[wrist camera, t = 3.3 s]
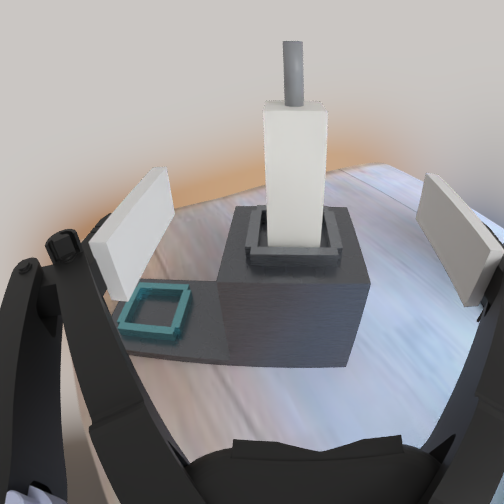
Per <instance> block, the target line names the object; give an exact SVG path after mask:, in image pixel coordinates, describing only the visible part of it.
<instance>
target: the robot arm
mask: <svg viewBox="0 0 504 504" xmlns="http://www.w3.org/2000/svg"><path fill="white" fill-rule="evenodd" d="M174 215H175V212H174V207H173V201H172V195H171V189H170V183H169V178H168V171H167V167H155V168H153V169H151V170H150V171H149V172H148V173H147V175H146V176H145V177H144V178H143V179H142V180H141V181H140V182H139V183H138V184H137V185H136V186H135V188H134V189H133V190H132V191H131V192H130V193H129V194H128V195H127V197H126V198H125V199H124V200H123V201H122V202H121V203H120V205H119V206H118V207H117V208H116V209H115V210H114V212H113V213H110V214H108V215H106V216H105V217H104V218H102V219H101V220H100V221H99V222H98V223H97V224H96V226H95V228H93V229H92V231H91V233H89V234H88V235H87V237H86V238H85V239H84V240H83V241H82V243H80V240H79V237H78V235H77V232H76V231H75V230H73V229H65V230H62V231H59V232H57V233H56V234H54V235H52V236H51V237H50V238H49V239H48V240H47V242H46V244H45V247H46V249H47V252H48V254H49V256H50V259H51V261H52V263H53V265H49V266H45V267H41V265H40V263H39V261H38V260H37V258H28V259H26V260H22V261H21V262H20V263H18V265H17V266H16V267H15V268H14V270H13V272H12V274H11V277H10V280H9V283H8V286H7V289H6V292H5V295H4V298H3V301H2V305H1V308H0V504H68V503H67V478H66V468H65V459H64V450H63V439H62V426H61V403H60V365H61V341H62V326H63V324H64V328H65V332H66V337H67V341H68V345H69V349H70V353H71V357H72V360H73V364H74V368H75V371H76V374H77V378H78V381H79V384H80V387H81V391H82V394H83V397H84V400H85V403H86V405H87V408H88V411H89V414H90V417H91V420H92V425H91V426H89V433H90V437H91V440H92V442H93V445H94V447H95V450H96V452H97V455H98V457H99V459H100V462H101V464H102V466H103V468H104V471H105V473H106V475H107V477H108V479H109V481H110V483H111V486H112V488H113V490H114V492H115V494H116V495H117V497H118V499H119V501H120V503H121V504H490V502H491V500H492V498H493V496H494V494H495V491H496V489H497V487H498V485H499V482H500V480H501V478H502V475H503V473H504V243H503V244H502V243H501V242H500V241H499V239H498V238H497V237H496V235H494V233H493V232H492V230H491V229H490V228H489V227H488V226H487V225H485V224H484V223H483V222H482V221H481V220H480V219H479V218H478V217H477V216H476V214H475V213H474V212H473V211H472V210H471V209H470V208H469V206H468V205H467V204H466V203H465V202H464V201H463V200H462V199H461V198H460V197H459V195H458V194H457V193H456V192H455V191H454V190H453V189H452V188H451V187H450V186H449V185H448V184H447V183H446V182H445V181H444V180H443V179H442V178H441V177H440V176H439V175H438V174H431V173H426V175H425V179H424V184H423V189H422V194H421V198H420V203H419V207H418V211H417V215H416V221H417V222H418V224H419V225H420V227H421V229H422V230H423V232H424V233H425V235H426V237H427V238H428V240H429V242H430V243H431V245H432V247H433V249H434V250H435V252H436V254H437V256H438V257H439V259H440V261H441V263H442V265H443V266H444V268H445V270H446V272H447V274H448V276H449V277H450V279H451V281H452V283H453V285H454V287H455V289H456V291H457V293H458V295H459V297H460V299H461V301H462V303H463V305H464V307H470V306H478V305H479V303H480V301H481V302H482V304H483V306H484V309H483V311H482V313H481V314H480V316H479V318H478V319H477V322H479V321H480V323H479V326H478V329H477V332H476V335H475V338H474V341H473V344H472V346H471V349H470V352H469V354H468V357H467V360H466V362H465V365H464V367H463V370H462V372H461V374H460V377H459V379H458V381H457V384H456V386H455V388H454V390H453V392H452V395H451V397H450V399H449V401H448V403H447V405H446V407H445V409H444V411H443V413H442V415H441V417H440V419H439V421H438V423H437V425H436V427H435V428H434V430H433V432H432V434H431V436H430V437H429V439H428V440H427V441H426V443H425V444H424V445H423V446H422V447H421V449H418V448H416V447H413V446H409V445H404V444H402V438H401V435H396V436H388V437H380V438H371V439H362V440H359V441H356V442H353V443H350V444H347V445H344V446H341V447H337V448H334V449H330V450H327V451H322V452H318V451H313V450H308V449H304V448H299V447H295V446H291V445H287V444H283V443H279V442H270V441H251V440H237V439H233V447H232V448H229V449H223V450H219V451H215V452H212V453H210V454H207V455H204V456H202V457H200V458H198V459H196V460H195V461H193V462H192V463H190V462H189V461H188V459H187V458H186V456H185V455H184V454H183V452H182V451H181V449H180V448H179V446H178V445H177V443H176V442H175V440H174V439H173V437H172V436H171V434H170V432H169V431H168V429H167V427H166V426H165V424H164V422H163V420H162V419H161V417H160V415H159V413H158V412H157V410H156V408H155V406H154V405H153V403H152V401H151V399H150V397H149V395H148V393H147V392H146V390H145V388H144V386H143V384H142V382H141V380H140V378H139V376H138V374H137V372H136V370H135V368H134V366H133V364H132V362H131V360H130V358H129V355H128V353H127V351H126V349H125V347H124V345H123V342H122V340H121V338H120V336H119V333H118V331H117V329H116V326H115V324H114V322H113V319H112V317H111V314H110V312H109V310H108V307H107V304H106V302H105V300H104V298H103V295H104V293H105V292H106V290H108V292H109V295H110V297H111V299H112V300H116V301H126V302H128V301H129V299H130V297H131V295H132V293H133V291H134V289H135V287H136V285H137V283H138V281H139V279H140V277H141V276H142V274H143V272H144V270H145V268H146V266H147V264H148V262H149V260H150V258H151V256H152V255H153V253H154V251H155V249H156V247H157V245H158V243H159V242H160V240H161V238H162V236H163V234H164V233H165V231H166V229H167V227H168V225H169V224H170V222H171V220H172V218H173V217H174Z"/></svg>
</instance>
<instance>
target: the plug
mask: <svg viewBox="0 0 504 504" xmlns="http://www.w3.org/2000/svg"><path fill="white" fill-rule="evenodd" d="M283 61H284V88H285V89H284V93H285V101H266V102H265V105H264V109H263V123H264V148H265V173H266V204H267V237H268V247H320V241H321V230H322V217H323V204H324V189H325V172H326V152H327V124H328V111H327V110H326V108H325V107H324V106H323V104H322V103H321V102H320V101H304V90H303V89H304V88H303V87H304V84H303V42H300V41H283Z"/></svg>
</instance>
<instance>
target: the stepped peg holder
mask: <svg viewBox="0 0 504 504" xmlns="http://www.w3.org/2000/svg"><path fill="white" fill-rule="evenodd" d="M370 284H371V283H370V279H369V276H368V272H367V269H366V265H365V262H364V259H363V255H362V252H361V249H360V246H359V242H358V239H357V236H356V233H355V230H354V227H353V224H352V221H351V218H350V215H349V212H348V209H347V207H327V206H323V217H322V230H321V241H320V247H268V237H267V205H257V206H236V208H235V212H234V216H233V219H232V223H231V227H230V231H229V235H228V238H227V242H226V246H225V250H224V254H223V258H222V262H221V266H220V270H219V273H218V277H217V281H185V280H159V279H139V281H138V283H137V285H136V287H135V289H134V291H133V293H132V295H131V297H130V299H129V301H128V302H126V301H119V302H118V304H117V306H116V308H115V310H114V312H113V314H112V316H111V317H112V319H113V322H114V324H115V326H116V329H117V331H118V333H119V336H120V338H121V340H122V342H123V345H124V347H125V349H126V351H127V353H128V355H135V356H142V357H149V358H157V359H165V360H174V361H183V362H194V363H205V364H217V365H232V366H252V367H285V368H323V367H346V365H347V362H348V359H349V356H350V353H351V350H352V347H353V343H354V340H355V337H356V334H357V331H358V327H359V324H360V321H361V317H362V314H363V310H364V307H365V303H366V300H367V296H368V292H369V288H370Z"/></svg>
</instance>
